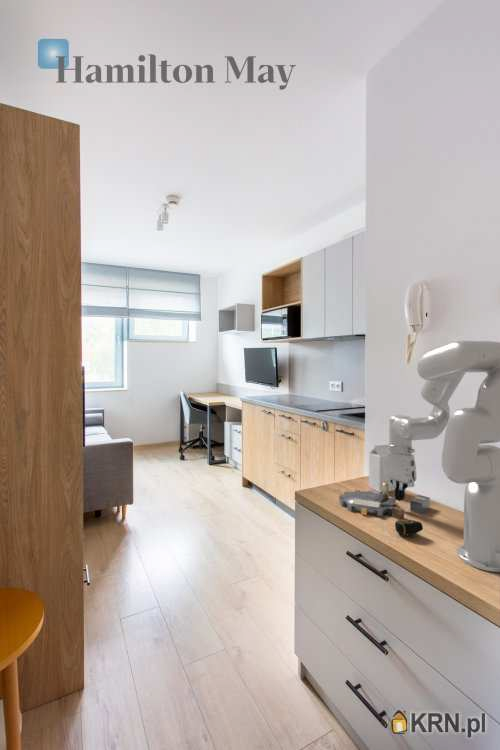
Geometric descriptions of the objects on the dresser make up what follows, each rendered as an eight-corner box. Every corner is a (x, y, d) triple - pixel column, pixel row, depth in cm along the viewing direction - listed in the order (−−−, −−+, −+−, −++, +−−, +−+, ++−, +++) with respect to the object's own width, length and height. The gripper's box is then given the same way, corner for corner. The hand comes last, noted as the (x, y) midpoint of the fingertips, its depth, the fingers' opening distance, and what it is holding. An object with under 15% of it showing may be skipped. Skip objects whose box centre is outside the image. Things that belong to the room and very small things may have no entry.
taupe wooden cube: (403, 517, 124) (404, 509, 124) (399, 519, 122) (399, 510, 122) (396, 514, 126) (396, 506, 126) (392, 516, 125) (392, 507, 125)
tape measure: (425, 533, 109) (422, 520, 110) (408, 538, 107) (406, 525, 107) (407, 529, 115) (405, 517, 116) (391, 534, 113) (389, 521, 113)
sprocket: (409, 507, 132) (409, 486, 132) (374, 521, 120) (374, 497, 120) (362, 491, 149) (362, 472, 149) (327, 502, 137) (327, 481, 137)
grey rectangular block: (429, 508, 133) (429, 496, 133) (421, 514, 127) (422, 502, 127) (418, 505, 135) (418, 494, 135) (410, 511, 130) (410, 499, 130)
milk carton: (393, 491, 150) (394, 446, 150) (379, 493, 148) (379, 447, 147) (382, 485, 157) (383, 442, 156) (368, 487, 155) (369, 443, 154)
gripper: (425, 452, 126) (425, 503, 127) (388, 444, 139) (387, 491, 139) (413, 455, 122) (413, 508, 123) (376, 447, 134) (375, 495, 135)
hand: (399, 499), depth 131 cm, fingers closed
